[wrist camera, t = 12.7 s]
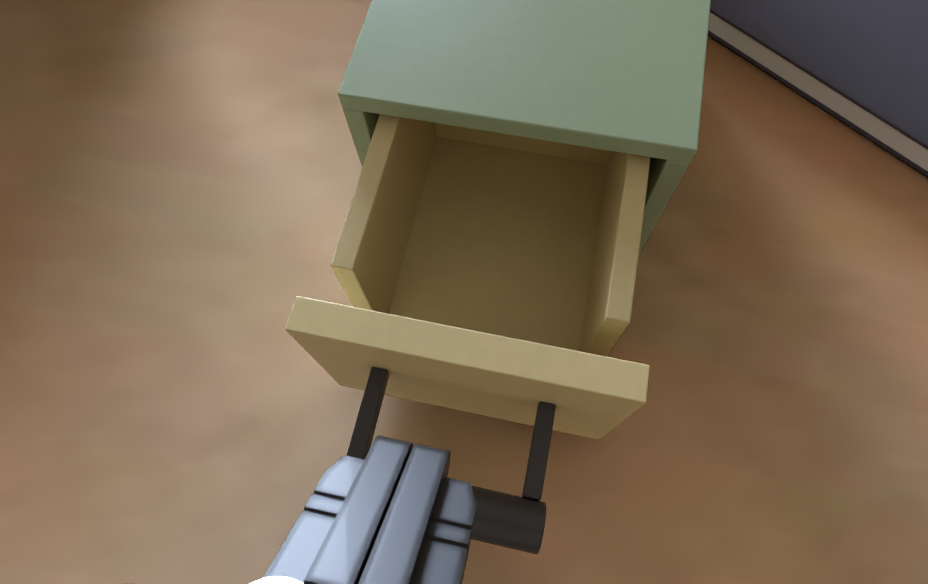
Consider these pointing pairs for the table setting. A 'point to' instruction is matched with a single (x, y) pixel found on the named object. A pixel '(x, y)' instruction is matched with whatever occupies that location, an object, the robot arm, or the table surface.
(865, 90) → the notebook
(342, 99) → the cabinet
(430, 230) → the drawer
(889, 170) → the table surface
